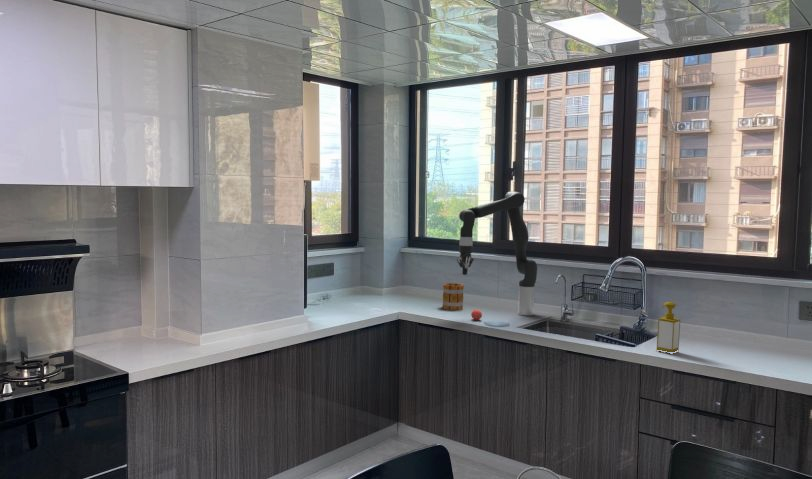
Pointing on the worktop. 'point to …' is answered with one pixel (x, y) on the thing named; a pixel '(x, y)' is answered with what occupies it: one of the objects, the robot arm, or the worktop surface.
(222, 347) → the worktop surface
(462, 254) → the robot arm
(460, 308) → the brown wooden cylinder
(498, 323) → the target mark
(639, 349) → the worktop surface
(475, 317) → the ball
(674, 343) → the soap bottle
